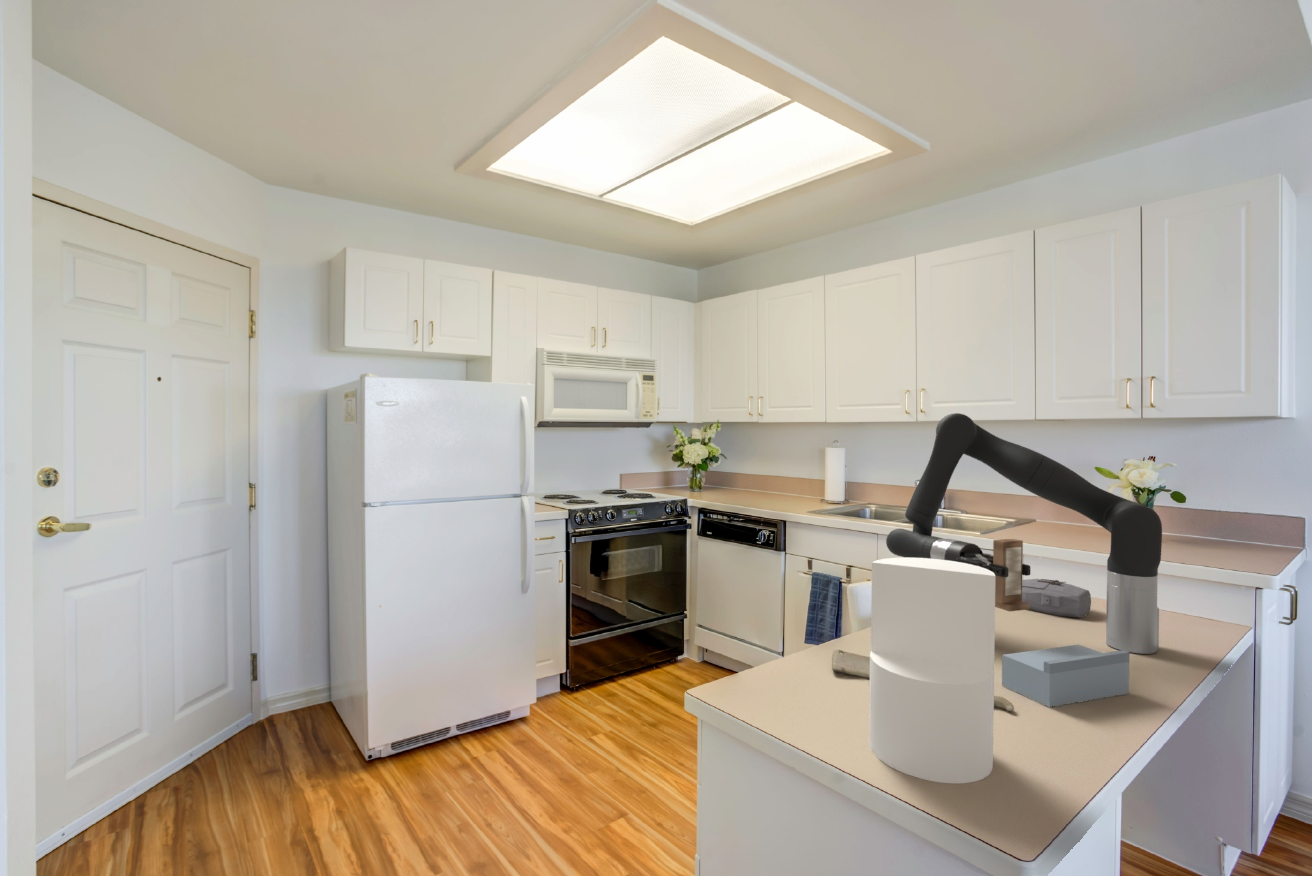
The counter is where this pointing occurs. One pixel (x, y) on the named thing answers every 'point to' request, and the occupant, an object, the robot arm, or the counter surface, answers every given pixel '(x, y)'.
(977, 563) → the robot arm
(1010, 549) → the brown wooden block
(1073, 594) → the grey rounded bag
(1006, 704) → the decorative wall piece
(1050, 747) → the counter surface
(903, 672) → the cylinder
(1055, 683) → the display riser
